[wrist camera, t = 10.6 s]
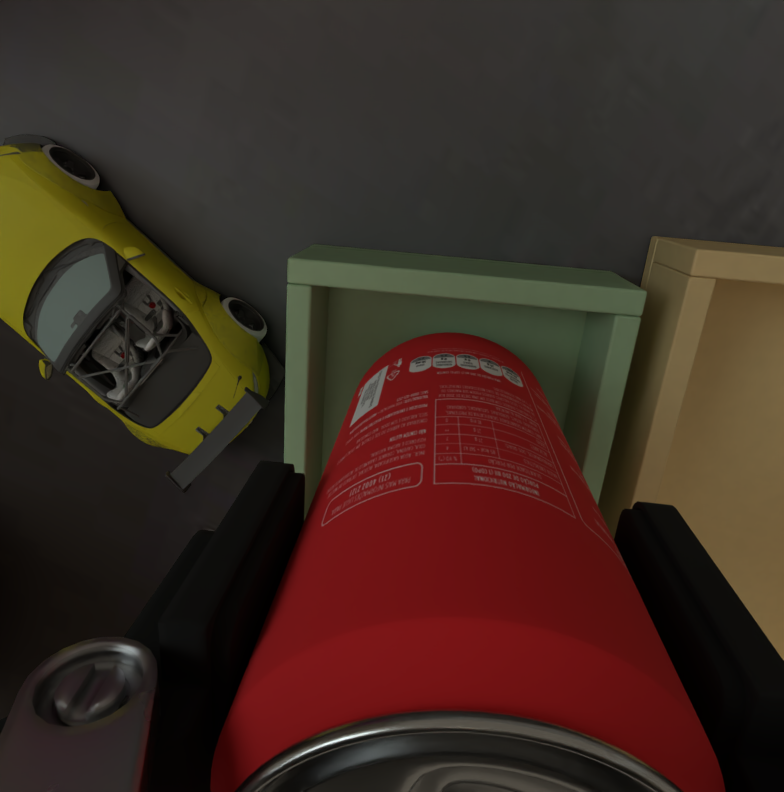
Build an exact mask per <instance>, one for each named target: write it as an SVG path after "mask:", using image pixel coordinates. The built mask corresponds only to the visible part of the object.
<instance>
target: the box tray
mask: <svg viewBox="0 0 784 792" xmlns="http://www.w3.org/2000/svg"><path fill="white" fill-rule="evenodd" d="M640 288H641V289H643V290H645V291H647V296H646V300H645V304H644V309H643V313H642V315H641V316H639V317H640V318H641V322H640V326H639V330H638V334H637V339H636V343H635V347H634V352H633V356H632V360H631V365H630V369H629V373H628V377H627V382H626V386H625V390H624V395H623V399H622V403H621V407H620V412H619V416H618V420H617V425H616V429H615V433H614V438H613V442H612V446H611V450H610V455H609V459H608V463H607V468H606V472H605V476H604V480H603V485H602V489H601V493H600V498H599V502H598V508H599V510H600V512H601V514H602V516H603V518H604V520H605V522H606V525H607V527H608V529H609V531H610V533H611V535H612V537H613V539H614V537H615V533H616V529H617V525H618V521H619V517H620V514H621V512H622V510H623V509H632V507H633V505H634V504H635V503H636V502H637V501H639V502H649V503H658V504H667V505H673V506H674V507H675V508H676V509H677V510H678V512H679V513H680V514H681V516H682V517H683V519H684V520H685V521H686V523H687V524H688V526H689V527H690V529H691V530H692V531H693V533H694V534H695V536H696V537H697V538H698V540H699V541H700V543H701V544H702V546H703V547H704V548H705V550H706V551H707V553H708V554H709V556H710V557H711V558H712V560H713V561H714V563H715V564H716V565H717V567H718V568H719V570H720V571H721V573H722V574H723V575H724V577H725V578H726V580H727V581H728V582H729V584H730V585H731V587H732V588H733V590H734V591H735V592H736V594H737V595H738V597H739V598H740V599H741V601H742V602H743V604H744V605H745V607H746V608H747V609H748V611H749V612H750V614H751V615H752V616H753V618H754V619H755V621H756V622H757V624H758V625H759V626H760V628H761V629H762V631H763V632H764V633H765V635H766V636H767V638H768V639H769V641H770V642H771V643H772V645H773V646H774V648H775V649H776V651H777V652H778V653H779V655H780V656H781V658H782V659H783V660H784V248H783V247H772V246H760V245H749V244H738V243H726V242H715V241H704V240H693V239H681V238H670V237H659V236H653V237H652V238H651V242H650V246H649V250H648V255H647V259H646V263H645V268H644V272H643V277H642V281H641V285H640Z"/></svg>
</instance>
